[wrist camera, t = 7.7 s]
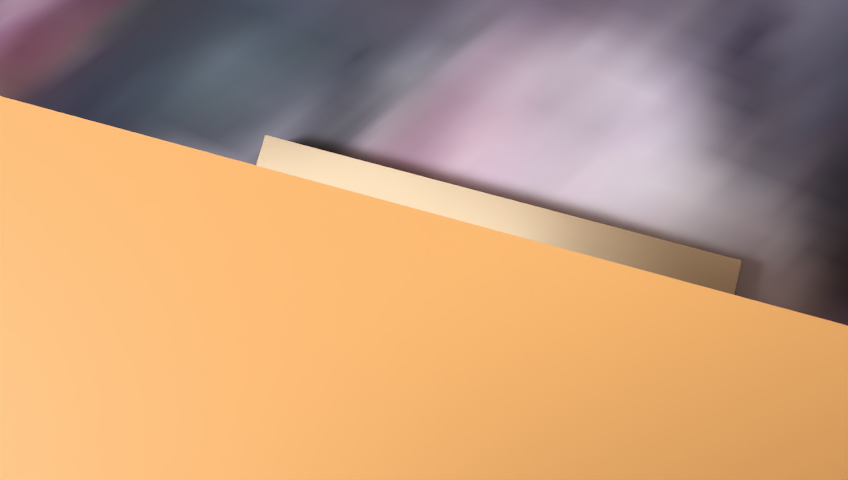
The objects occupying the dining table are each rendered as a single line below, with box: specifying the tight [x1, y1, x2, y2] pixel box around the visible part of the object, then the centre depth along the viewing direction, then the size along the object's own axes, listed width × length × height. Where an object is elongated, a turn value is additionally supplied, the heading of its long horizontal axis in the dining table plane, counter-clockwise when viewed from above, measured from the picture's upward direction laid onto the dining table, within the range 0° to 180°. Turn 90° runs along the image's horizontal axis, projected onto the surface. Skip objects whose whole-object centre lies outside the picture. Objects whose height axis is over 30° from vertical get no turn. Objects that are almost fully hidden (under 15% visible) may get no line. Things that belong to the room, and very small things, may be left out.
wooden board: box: [256, 135, 742, 295], centre depth 18 cm, size 12×12×1 cm
